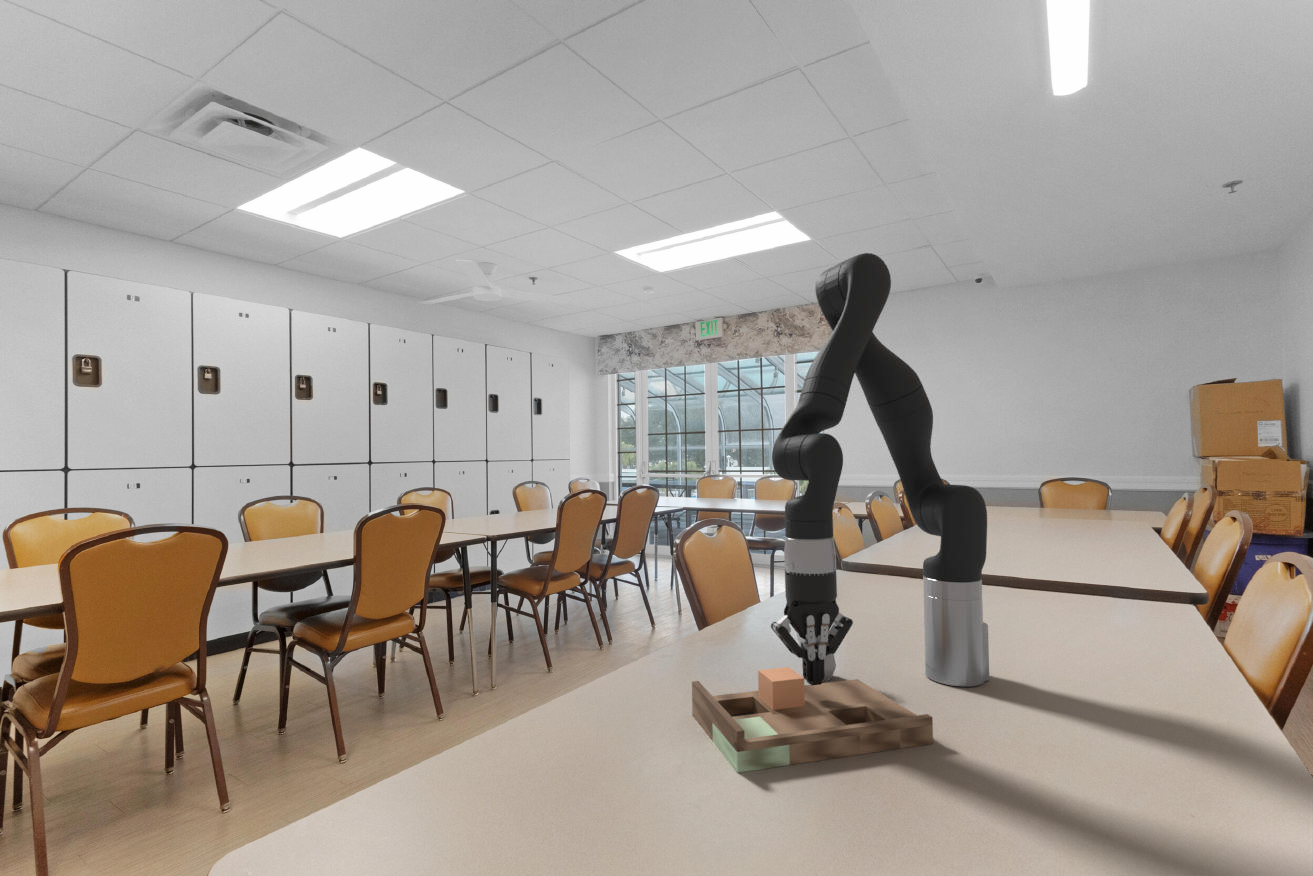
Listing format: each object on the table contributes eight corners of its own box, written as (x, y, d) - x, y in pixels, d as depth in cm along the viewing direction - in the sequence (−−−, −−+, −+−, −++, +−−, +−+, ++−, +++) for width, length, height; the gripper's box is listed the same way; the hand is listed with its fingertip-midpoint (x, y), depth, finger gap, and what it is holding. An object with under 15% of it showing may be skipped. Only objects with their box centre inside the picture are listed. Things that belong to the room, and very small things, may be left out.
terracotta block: (789, 693, 97) (788, 667, 97) (804, 706, 92) (804, 678, 92) (758, 697, 96) (758, 670, 96) (773, 710, 91) (772, 681, 91)
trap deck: (857, 694, 103) (857, 663, 103) (933, 743, 85) (932, 705, 85) (692, 715, 96) (691, 681, 96) (737, 772, 78) (736, 731, 78)
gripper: (836, 560, 101) (839, 670, 100) (759, 566, 97) (762, 680, 97) (863, 568, 94) (867, 686, 93) (781, 574, 90) (784, 698, 90)
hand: (813, 683), depth 95 cm, fingers closed
